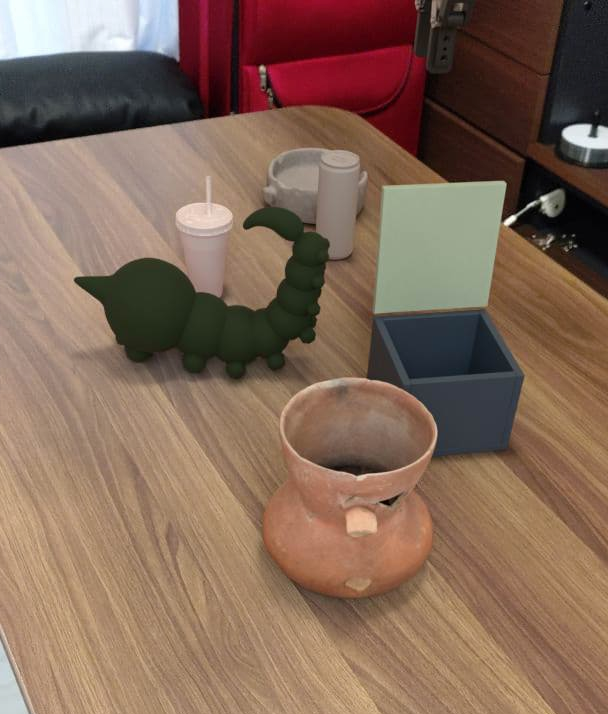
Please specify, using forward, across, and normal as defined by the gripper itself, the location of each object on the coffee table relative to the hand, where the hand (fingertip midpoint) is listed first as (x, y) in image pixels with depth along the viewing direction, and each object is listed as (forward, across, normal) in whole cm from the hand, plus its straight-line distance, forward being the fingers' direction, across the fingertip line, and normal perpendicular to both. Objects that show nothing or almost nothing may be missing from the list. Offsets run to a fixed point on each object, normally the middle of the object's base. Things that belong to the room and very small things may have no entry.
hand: (431, 62), depth 89 cm
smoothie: (+29, +12, +20) cm, 38 cm away
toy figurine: (+29, -2, +22) cm, 37 cm away
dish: (+29, +33, +3) cm, 44 cm away
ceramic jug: (+29, -32, +13) cm, 45 cm away
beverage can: (+29, +20, +3) cm, 36 cm away
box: (+29, -15, 0) cm, 33 cm away
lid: (+14, -9, 0) cm, 17 cm away
